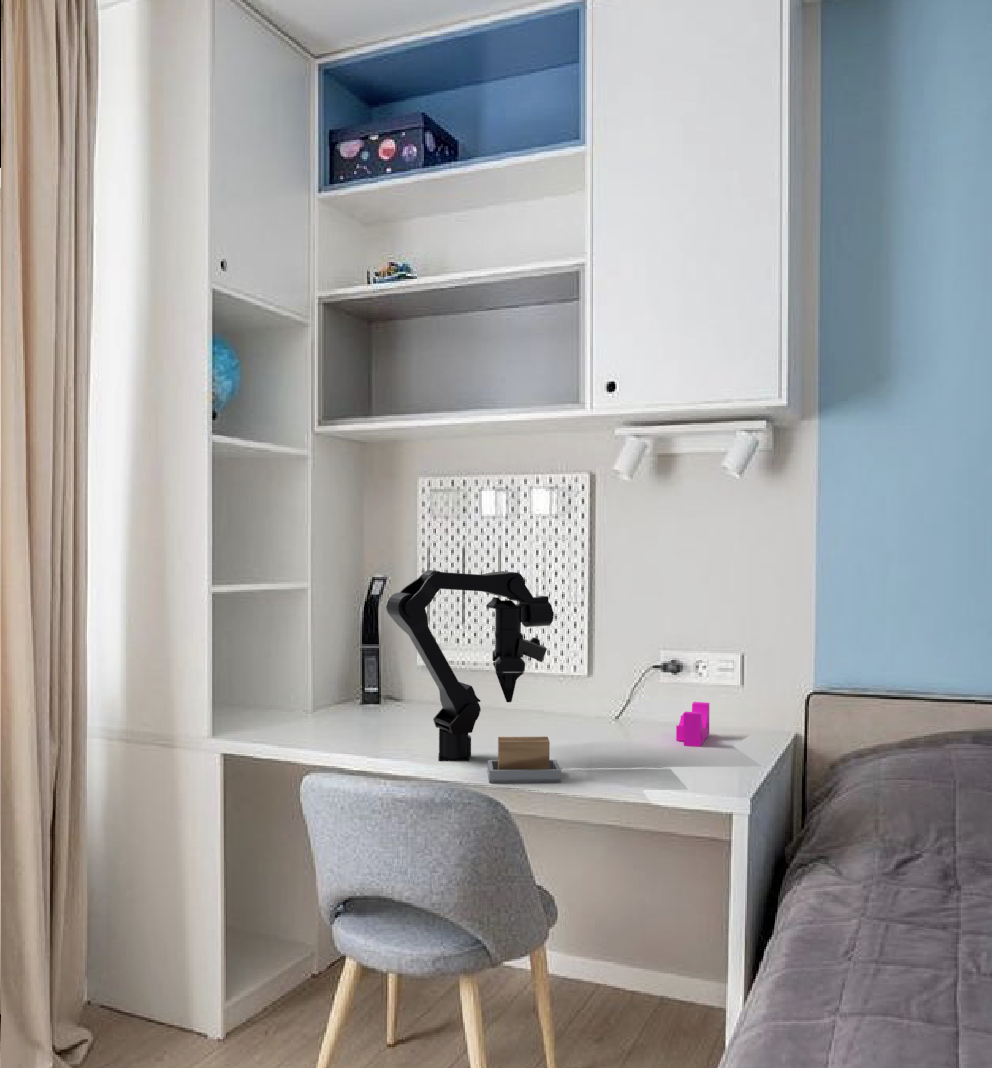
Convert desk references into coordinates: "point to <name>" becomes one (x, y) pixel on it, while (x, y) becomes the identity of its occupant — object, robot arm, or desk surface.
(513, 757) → the walnut block
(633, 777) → the desk surface
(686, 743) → the toy block
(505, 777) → the slot tray
